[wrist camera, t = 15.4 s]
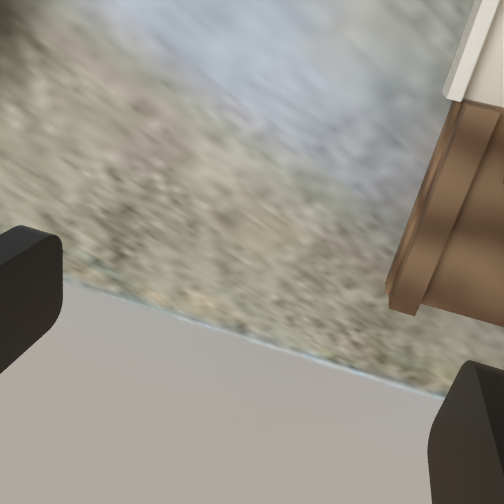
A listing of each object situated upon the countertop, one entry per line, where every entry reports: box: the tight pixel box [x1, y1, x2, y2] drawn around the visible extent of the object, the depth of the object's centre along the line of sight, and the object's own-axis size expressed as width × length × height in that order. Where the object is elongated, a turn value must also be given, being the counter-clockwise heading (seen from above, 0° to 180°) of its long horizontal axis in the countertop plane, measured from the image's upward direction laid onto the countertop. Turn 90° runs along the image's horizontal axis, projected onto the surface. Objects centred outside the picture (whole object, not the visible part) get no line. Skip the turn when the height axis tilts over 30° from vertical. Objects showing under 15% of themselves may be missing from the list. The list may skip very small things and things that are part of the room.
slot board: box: [385, 98, 504, 327], centre depth 37 cm, size 17×13×4 cm
